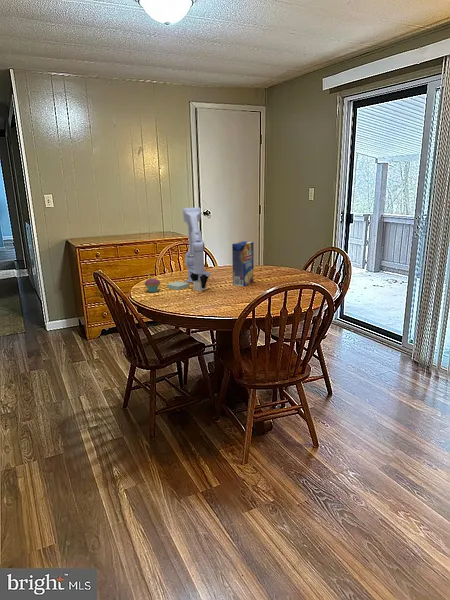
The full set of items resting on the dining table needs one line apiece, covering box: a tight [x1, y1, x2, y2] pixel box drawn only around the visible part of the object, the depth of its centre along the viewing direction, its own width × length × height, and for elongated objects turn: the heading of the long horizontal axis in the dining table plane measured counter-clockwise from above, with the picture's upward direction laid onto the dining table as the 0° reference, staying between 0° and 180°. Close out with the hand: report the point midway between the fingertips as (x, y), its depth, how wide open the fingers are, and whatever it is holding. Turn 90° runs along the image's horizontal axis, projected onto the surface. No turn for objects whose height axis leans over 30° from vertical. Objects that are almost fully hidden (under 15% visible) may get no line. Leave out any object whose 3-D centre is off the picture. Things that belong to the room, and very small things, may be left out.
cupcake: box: [144, 270, 161, 293], centre depth 226 cm, size 9×8×12 cm
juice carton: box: [231, 240, 255, 287], centre depth 236 cm, size 12×8×24 cm, turn 149°
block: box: [193, 280, 207, 292], centre depth 227 cm, size 5×5×5 cm
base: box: [166, 281, 190, 291], centre depth 234 cm, size 9×9×2 cm
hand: (199, 287), depth 228 cm, fingers closed on block, 5 cm apart
